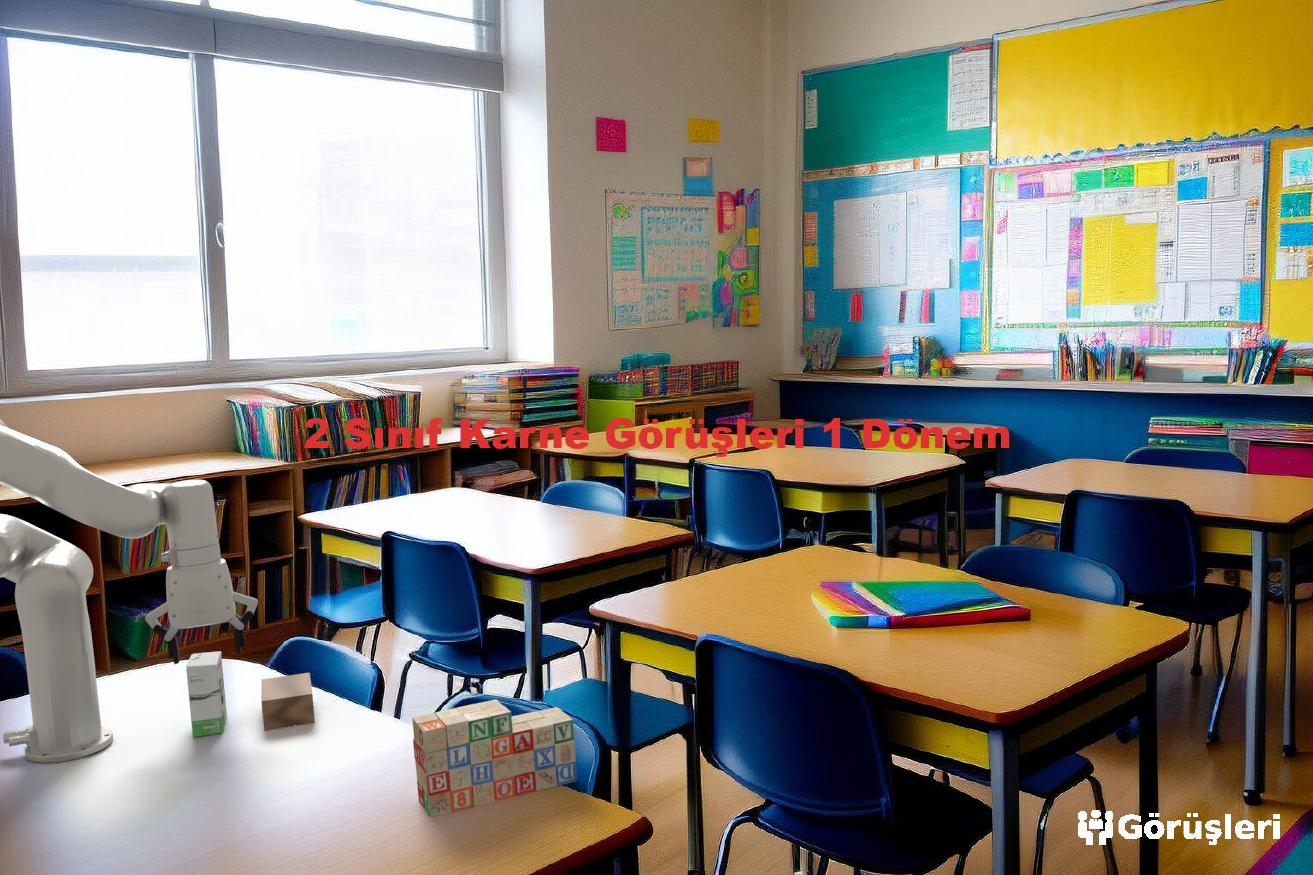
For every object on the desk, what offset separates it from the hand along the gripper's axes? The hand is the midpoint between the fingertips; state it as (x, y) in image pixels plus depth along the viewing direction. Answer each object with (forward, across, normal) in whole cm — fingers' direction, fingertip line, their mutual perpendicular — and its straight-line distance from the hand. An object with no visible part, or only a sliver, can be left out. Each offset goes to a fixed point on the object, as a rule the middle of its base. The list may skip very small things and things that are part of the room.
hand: (208, 656), depth 185 cm
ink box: (+12, -1, 0) cm, 12 cm away
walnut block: (+12, +11, 0) cm, 17 cm away
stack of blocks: (+14, +38, -46) cm, 61 cm away
